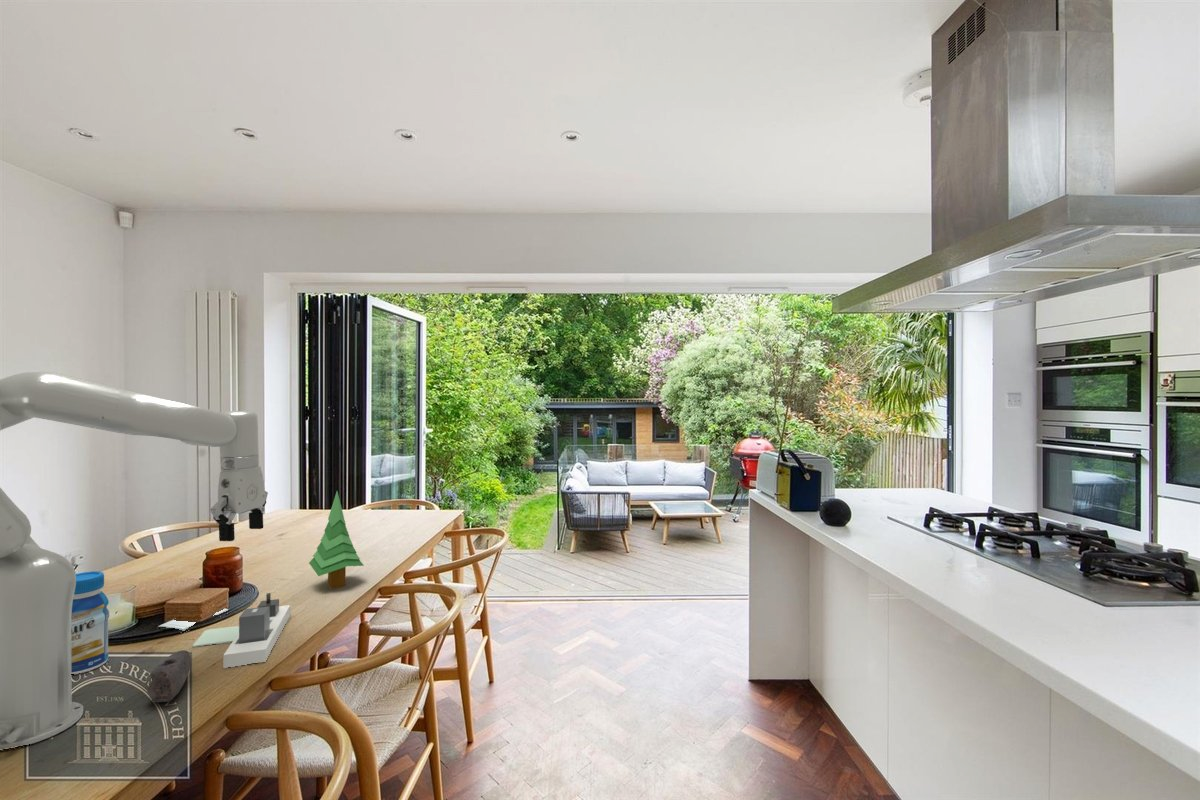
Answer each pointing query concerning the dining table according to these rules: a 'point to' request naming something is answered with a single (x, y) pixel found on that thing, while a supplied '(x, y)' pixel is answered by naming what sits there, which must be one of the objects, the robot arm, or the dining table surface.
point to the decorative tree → (335, 549)
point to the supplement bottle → (89, 623)
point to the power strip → (259, 649)
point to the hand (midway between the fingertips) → (242, 534)
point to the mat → (217, 636)
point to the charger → (254, 625)
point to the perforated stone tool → (169, 677)
